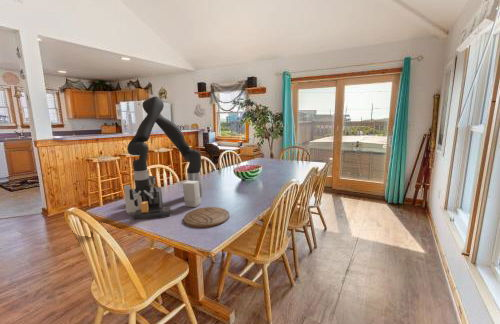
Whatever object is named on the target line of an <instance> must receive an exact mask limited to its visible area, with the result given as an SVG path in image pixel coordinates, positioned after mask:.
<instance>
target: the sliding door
mask: <svg viewBox="0 0 500 324" xmlns="http://www.w3.org/2000/svg"><path fill="white" fill-rule="evenodd" d="M123 189H124V190H123V192H124V203H125V210H126V214H128V213H131V212H136V210H141V203H142V196H140V195H139V196H138V197H137V201H138V207H136V206H135V204H134V200H130V192H129V190H130V189H131V184H127V185H123ZM136 195H137V194H133V197H135V196H136Z"/></svg>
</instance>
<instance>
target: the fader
mask: <svg viewBox="0 0 500 324" xmlns="http://www.w3.org/2000/svg"><path fill="white" fill-rule="evenodd" d="M148 210H149V208H148V201H145V202H142V203H141V211H142V213H144V212H148Z"/></svg>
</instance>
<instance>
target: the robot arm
mask: <svg viewBox="0 0 500 324" xmlns="http://www.w3.org/2000/svg"><path fill="white" fill-rule="evenodd" d="M164 106H165V105H164V102H163V99H161V97H159V96H152V97H150V98H148V99H146V100H144V101H142V108H143V110H144V112H145V113H146V116H145V117H144V119H142V121H141V123H140V124H139V126H138V128H137V130H136V133H135V135H134V136H132V139H131V140H130V141H129V143H128V145H127V153H128V154H129V155H131V156H139V158H137V159H134V160H133V161H132V169H133V180H134V187H135V188H131V189H130V190H129V192H130V200H134V204H135V206H136V207H138V201H137V197H138V196H139V195H140V196H143V195H148V196H150V197H151V198H152V199H151V201H152V205H153V204H154V203H155V200H154V198H155V197H157V190H156V187H157V185H156V186H154V187H150V183H149V176H150V175H149V170H148V164H147V163H148V162H147V161H148V155H149V146H148V144H147V143H146V142H148V141H149V140H150V139H149V138H150V136H151V133H152V132H153V128H154V125H155V124H157V126H158V127H159V128H160V129H161V130H162V132H163V133H164V135H165V136H166V137H167V138H168V139H169V141H170V142H171V143H172V145H174V146H175V147H176V148H177V150H178V152H179V153H180V154H181V156H182V158H183V159H184V160H185V161H186V162H188V163H189V165H188V167H187V169H186V173H187V175H186V176H187V181H198V182H199V192H200V197H202V196H203V192H202V191H203V190H202V178H201V177H202V176H201V168H202V156H201V152H200V151H199V150H198V149H192V148H191V147H190V146H189V145H188V143H187V141H186V139H185V136H184V132H182V130H181V129H180V128H179V126H178V125H177V124H176V123H174V122H173V121H171V120H170V119H168V118H166V117H164V115H163V114H161V113H162V112H163V109H164ZM151 189H152V191H154V195H153V194H152V193H151V192H150V190H151ZM134 191H135V192H136V193H137V195H136V196H135V197H133V193H134Z"/></svg>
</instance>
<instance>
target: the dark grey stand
mask: <svg viewBox="0 0 500 324" xmlns="http://www.w3.org/2000/svg"><path fill="white" fill-rule="evenodd" d="M156 190H157V197H155V198H154V200H155V203H154V204H153V205H152V201H151V199H152V198H151V197H150V196H148V195H143V196H142V202H145V201H148V208H149V209H152V208H162V207H164V206H163V205H164V204H163V203H164V202H163V196H162V195H163V194H162V187H161V186H156ZM150 192H151V193H152V194H153V195H154V191H152V189H151V190H150ZM133 194H137V193H136V192H135V191H134V193H133ZM134 213H135V212H131V213H127V214H128V216H131V215H132V216H133V215H134Z"/></svg>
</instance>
